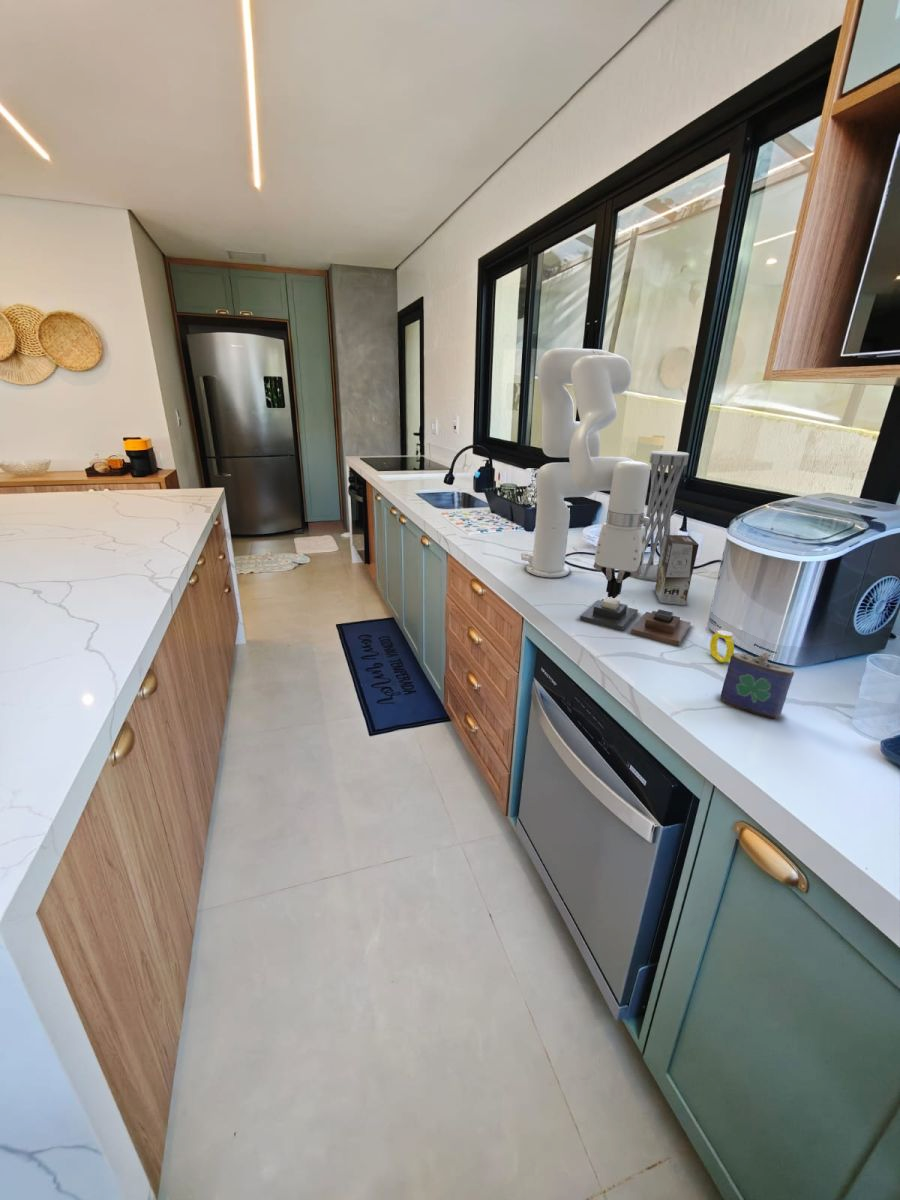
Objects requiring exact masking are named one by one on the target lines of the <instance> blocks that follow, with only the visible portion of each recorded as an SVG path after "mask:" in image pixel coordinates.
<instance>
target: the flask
mask: <svg viewBox="0 0 900 1200" xmlns="http://www.w3.org/2000/svg"><path fill="white" fill-rule="evenodd" d="M770 656H771V654H770V653H768V652H766V651H765V652H760V654H759V656H755V657H754V656H752V655H750V654H749V655H747V652H744V653H740V652H734V654H732V656H731V659H730V661H729V662H728V666H727V670H726V674H725V677H724V681H723V685H722V690H721V692H720V698H719V700H720V701H721V702H722V703H724V704H726V705H728V706H730V707H734V708H736V709H738V710H742V711H745V712H749V713H751V714H753V715H758V716H761V717H765V718H768V719H775V720H778V719H779V718H780V717H781V715H782V712H783V709H784V705H785V703H786V700H787V695H788V693H789V689H790V686H791V683H792V679H793V677H794V674H795V671H794V670H793V669H792V668H791V667H790V666H789V667H788V666H785V665H781V664H776V663H772V662H769V661H768V660H769V658H770Z"/></svg>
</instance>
